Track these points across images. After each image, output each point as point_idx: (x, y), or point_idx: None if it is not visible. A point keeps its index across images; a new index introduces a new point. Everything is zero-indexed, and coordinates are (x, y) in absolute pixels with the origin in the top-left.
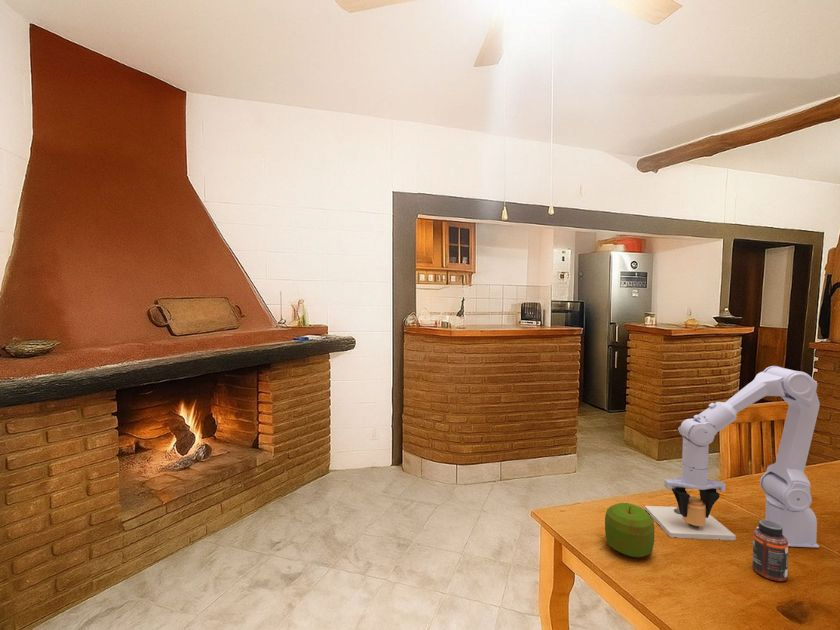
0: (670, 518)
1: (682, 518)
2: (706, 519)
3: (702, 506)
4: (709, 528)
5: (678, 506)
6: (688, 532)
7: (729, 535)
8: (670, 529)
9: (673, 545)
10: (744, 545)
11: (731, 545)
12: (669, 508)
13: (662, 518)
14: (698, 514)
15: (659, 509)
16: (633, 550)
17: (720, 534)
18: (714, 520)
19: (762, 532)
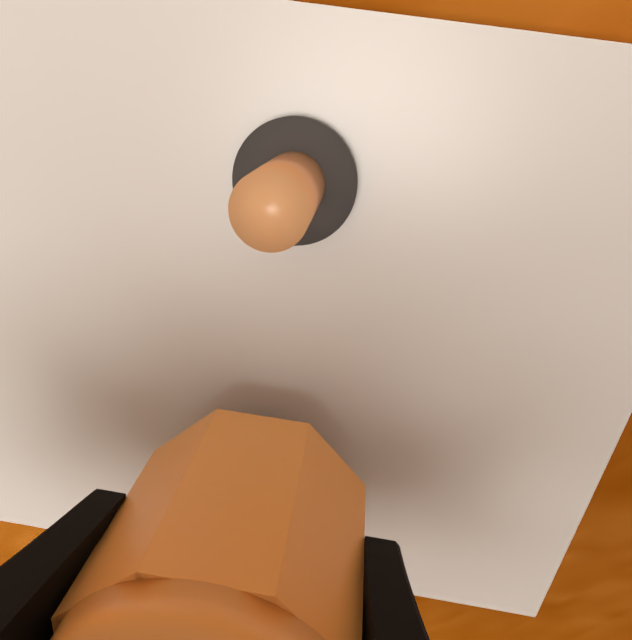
0: (102, 314)
1: (152, 454)
2: (523, 371)
3: None
4: (394, 509)
5: (29, 543)
6: None
7: (483, 605)
8: (13, 479)
9: (3, 557)
10: (528, 625)
11: (425, 612)
12: (224, 58)
13: (12, 307)
14: None
15: (59, 86)
16: None
17: (413, 587)
18: (603, 398)
19: None
